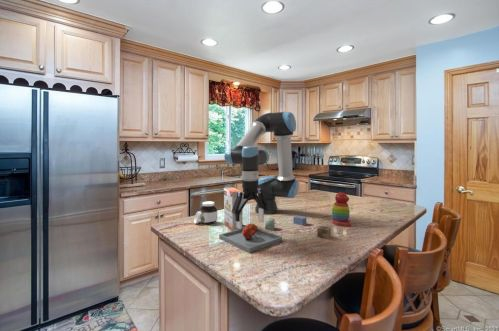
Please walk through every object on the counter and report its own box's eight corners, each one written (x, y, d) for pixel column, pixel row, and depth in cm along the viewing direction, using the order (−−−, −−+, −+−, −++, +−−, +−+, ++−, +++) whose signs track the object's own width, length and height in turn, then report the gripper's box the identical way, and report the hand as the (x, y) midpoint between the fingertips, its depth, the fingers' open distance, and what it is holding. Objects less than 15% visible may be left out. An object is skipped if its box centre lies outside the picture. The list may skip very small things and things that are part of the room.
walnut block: (317, 237, 127) (317, 228, 126) (320, 234, 131) (320, 225, 130) (327, 239, 124) (327, 230, 124) (330, 236, 128) (330, 227, 128)
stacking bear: (352, 227, 143) (353, 194, 141) (332, 225, 145) (333, 193, 143) (348, 221, 153) (349, 191, 152) (330, 220, 155) (331, 190, 154)
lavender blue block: (293, 223, 149) (293, 216, 149) (297, 222, 152) (297, 215, 152) (302, 225, 145) (302, 218, 145) (306, 224, 148) (306, 217, 148)
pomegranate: (258, 240, 126) (243, 226, 129) (266, 231, 123) (251, 216, 126) (250, 247, 120) (235, 232, 123) (258, 237, 117) (242, 221, 120)
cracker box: (223, 224, 147) (223, 187, 145) (233, 223, 149) (233, 186, 147) (231, 232, 134) (231, 191, 132) (242, 230, 136) (242, 190, 134)
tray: (219, 238, 125) (219, 234, 125) (250, 229, 138) (250, 226, 138) (249, 253, 108) (249, 248, 108) (282, 241, 121) (282, 237, 121)
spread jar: (219, 223, 150) (219, 202, 149) (203, 227, 141) (203, 206, 140) (206, 218, 158) (206, 199, 157) (190, 223, 150) (190, 202, 149)
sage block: (263, 228, 140) (263, 219, 140) (269, 226, 143) (269, 217, 143) (269, 230, 136) (269, 221, 136) (276, 228, 140) (276, 219, 139)
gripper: (233, 183, 110) (234, 233, 112) (275, 178, 126) (274, 221, 128) (223, 181, 115) (224, 228, 117) (264, 176, 132) (264, 217, 134)
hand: (250, 224), depth 123 cm, fingers open, 13 cm apart
